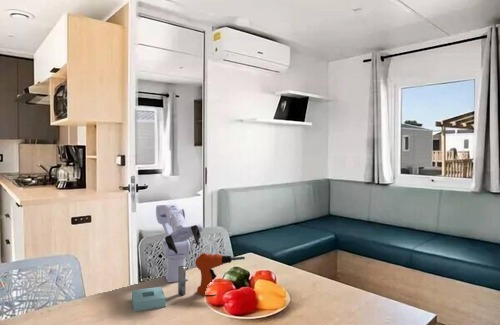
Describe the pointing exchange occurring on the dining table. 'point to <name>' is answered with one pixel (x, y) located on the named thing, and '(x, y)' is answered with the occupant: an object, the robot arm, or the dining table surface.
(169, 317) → the dining table surface
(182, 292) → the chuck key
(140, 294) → the block
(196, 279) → the dining table surface
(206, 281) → the toy drill
